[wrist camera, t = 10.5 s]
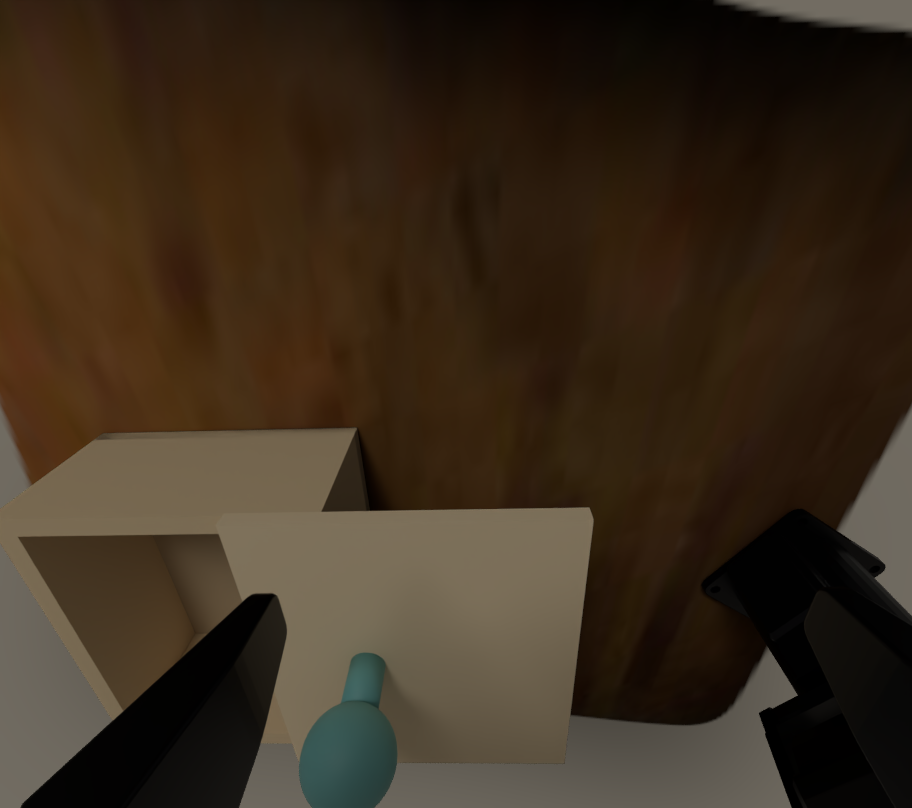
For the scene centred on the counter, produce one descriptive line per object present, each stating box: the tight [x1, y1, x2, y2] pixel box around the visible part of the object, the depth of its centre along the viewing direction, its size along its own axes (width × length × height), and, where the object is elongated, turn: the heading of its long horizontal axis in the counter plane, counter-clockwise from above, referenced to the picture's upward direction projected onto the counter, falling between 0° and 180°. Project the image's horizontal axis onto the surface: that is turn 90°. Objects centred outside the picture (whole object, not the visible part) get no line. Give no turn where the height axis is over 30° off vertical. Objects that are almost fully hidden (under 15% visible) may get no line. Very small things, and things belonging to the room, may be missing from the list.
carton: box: [0, 428, 370, 743], centre depth 22 cm, size 12×14×6 cm
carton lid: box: [216, 508, 594, 808], centre depth 17 cm, size 12×14×6 cm
